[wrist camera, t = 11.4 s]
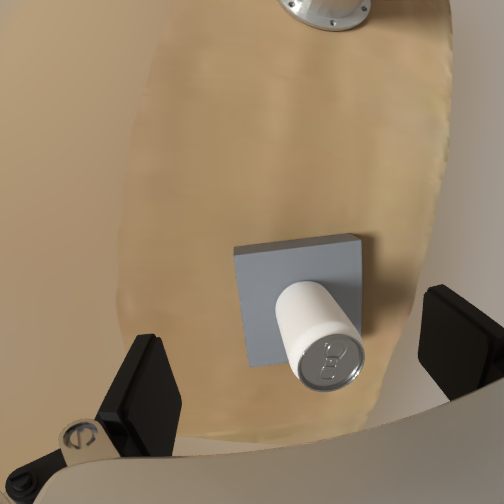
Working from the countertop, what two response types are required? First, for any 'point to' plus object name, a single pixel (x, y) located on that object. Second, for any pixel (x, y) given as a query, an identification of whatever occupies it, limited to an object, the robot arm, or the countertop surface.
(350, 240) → the base block
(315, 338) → the can
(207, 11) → the countertop surface
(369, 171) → the countertop surface
